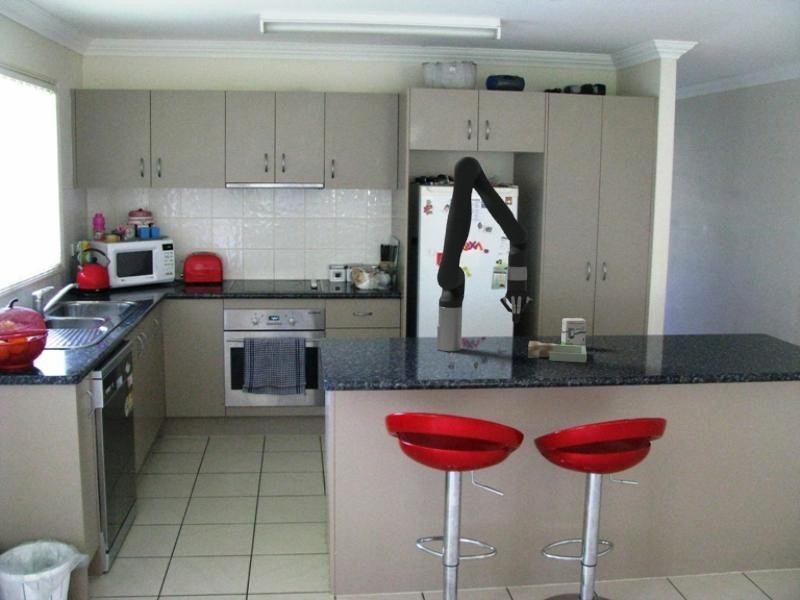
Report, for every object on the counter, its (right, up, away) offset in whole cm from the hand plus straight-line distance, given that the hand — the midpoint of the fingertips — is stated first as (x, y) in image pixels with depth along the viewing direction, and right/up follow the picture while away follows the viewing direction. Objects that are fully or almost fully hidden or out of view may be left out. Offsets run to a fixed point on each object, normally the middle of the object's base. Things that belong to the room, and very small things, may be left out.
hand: (515, 322), depth 327 cm
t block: (+10, -13, 0) cm, 16 cm away
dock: (+20, -13, -2) cm, 24 cm away
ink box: (+25, -11, +16) cm, 31 cm away
